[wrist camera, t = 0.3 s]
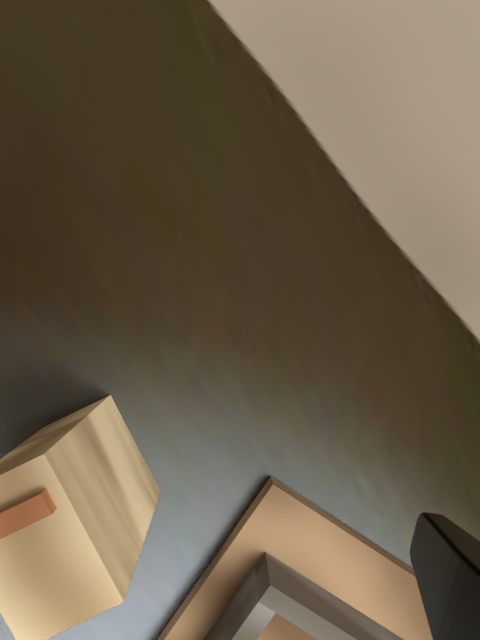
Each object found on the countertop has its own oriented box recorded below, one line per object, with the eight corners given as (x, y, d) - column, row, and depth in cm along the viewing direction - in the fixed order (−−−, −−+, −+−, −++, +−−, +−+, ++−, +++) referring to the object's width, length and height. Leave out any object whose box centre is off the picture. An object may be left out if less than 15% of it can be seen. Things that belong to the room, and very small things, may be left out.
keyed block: (95, 523, 23) (16, 661, 14) (43, 427, 22) (-69, 510, 14) (160, 491, 22) (121, 610, 14) (110, 394, 22) (38, 458, 14)
